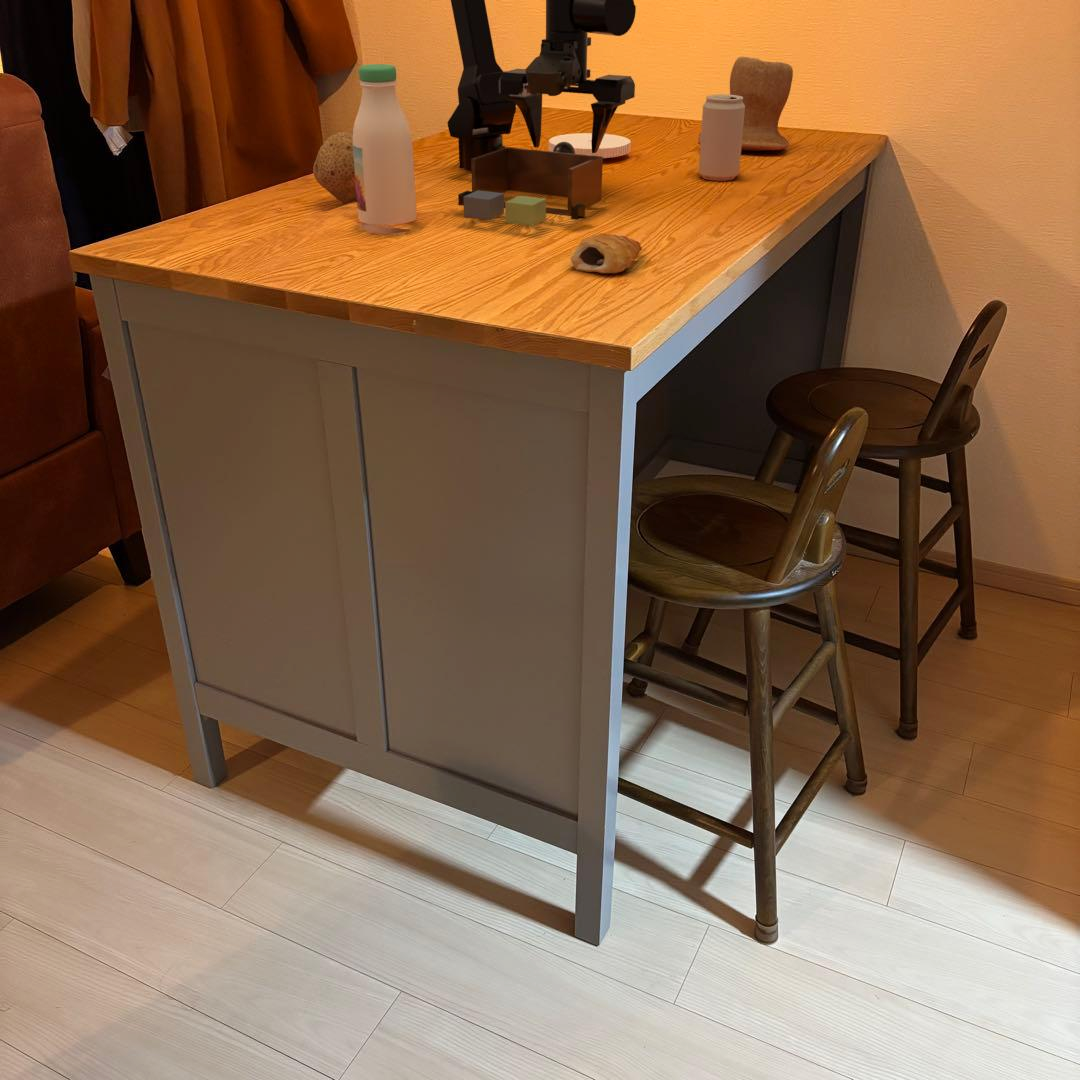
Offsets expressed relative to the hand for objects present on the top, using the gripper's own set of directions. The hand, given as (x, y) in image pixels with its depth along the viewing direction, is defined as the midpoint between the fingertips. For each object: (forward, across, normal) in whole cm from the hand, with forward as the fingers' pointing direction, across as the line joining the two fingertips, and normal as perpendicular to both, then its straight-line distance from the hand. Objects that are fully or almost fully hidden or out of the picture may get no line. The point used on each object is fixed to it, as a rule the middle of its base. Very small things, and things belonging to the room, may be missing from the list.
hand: (565, 149), depth 154 cm
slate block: (+5, -3, -16) cm, 18 cm away
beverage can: (+7, +16, +24) cm, 29 cm away
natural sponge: (+7, -26, -18) cm, 32 cm away
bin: (+7, 0, -6) cm, 9 cm away
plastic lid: (+7, -9, +30) cm, 32 cm away
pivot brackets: (+7, 0, -14) cm, 16 cm away
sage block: (+5, +3, -17) cm, 18 cm away
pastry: (+7, +19, -28) cm, 35 cm away
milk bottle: (+7, -14, -26) cm, 30 cm away
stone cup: (+7, +13, +48) cm, 50 cm away
